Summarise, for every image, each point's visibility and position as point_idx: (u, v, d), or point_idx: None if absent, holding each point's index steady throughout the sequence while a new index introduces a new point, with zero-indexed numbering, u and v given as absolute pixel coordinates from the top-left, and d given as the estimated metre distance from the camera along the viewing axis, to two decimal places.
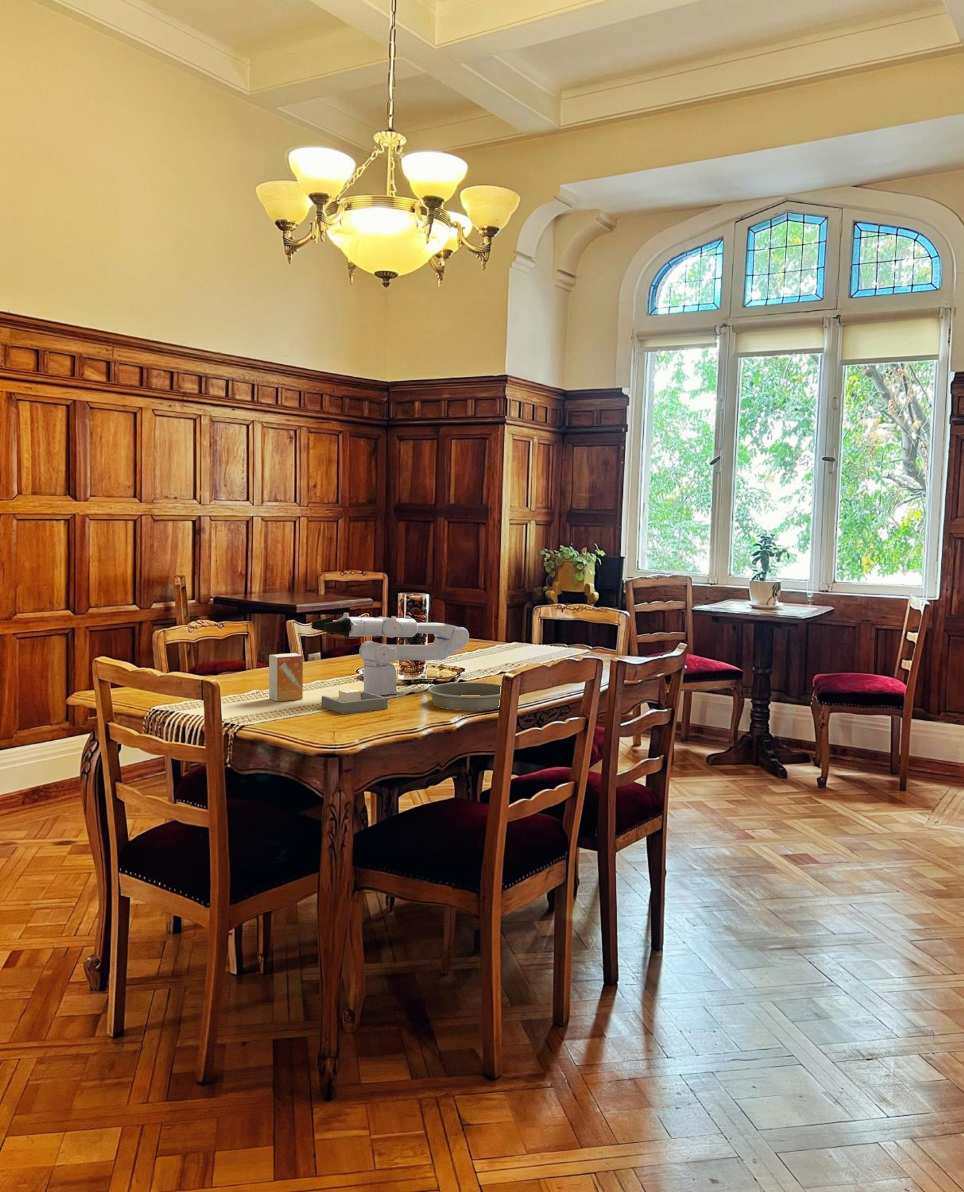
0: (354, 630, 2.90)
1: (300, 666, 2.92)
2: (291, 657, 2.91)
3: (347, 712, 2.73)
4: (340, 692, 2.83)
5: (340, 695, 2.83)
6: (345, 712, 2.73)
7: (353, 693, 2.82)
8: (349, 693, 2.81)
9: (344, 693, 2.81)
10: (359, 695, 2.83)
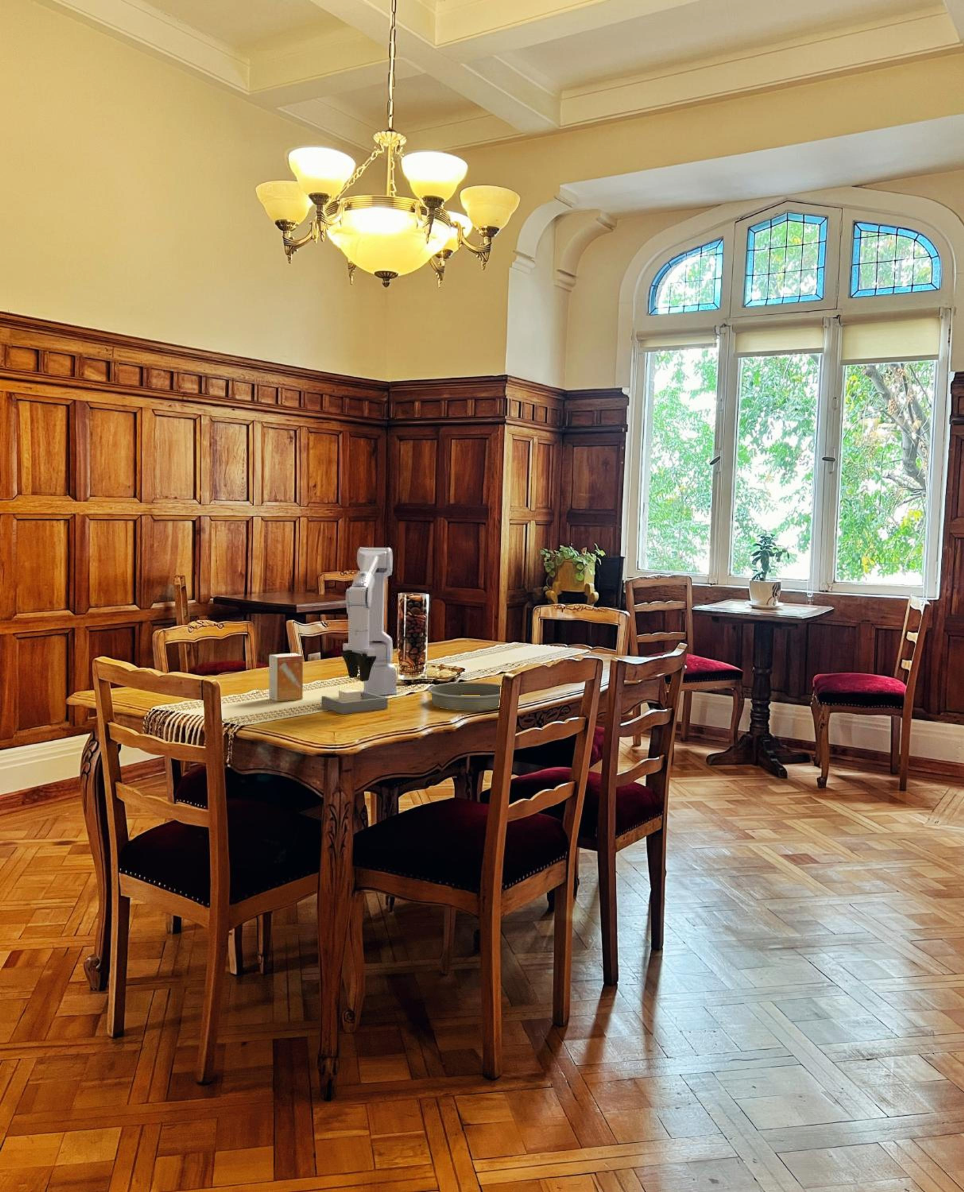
0: (373, 653, 2.73)
1: (300, 666, 2.92)
2: (291, 657, 2.91)
3: (347, 712, 2.73)
4: (340, 692, 2.83)
5: (340, 695, 2.83)
6: (345, 712, 2.73)
7: (353, 693, 2.82)
8: (349, 693, 2.81)
9: (344, 693, 2.81)
10: (359, 695, 2.83)
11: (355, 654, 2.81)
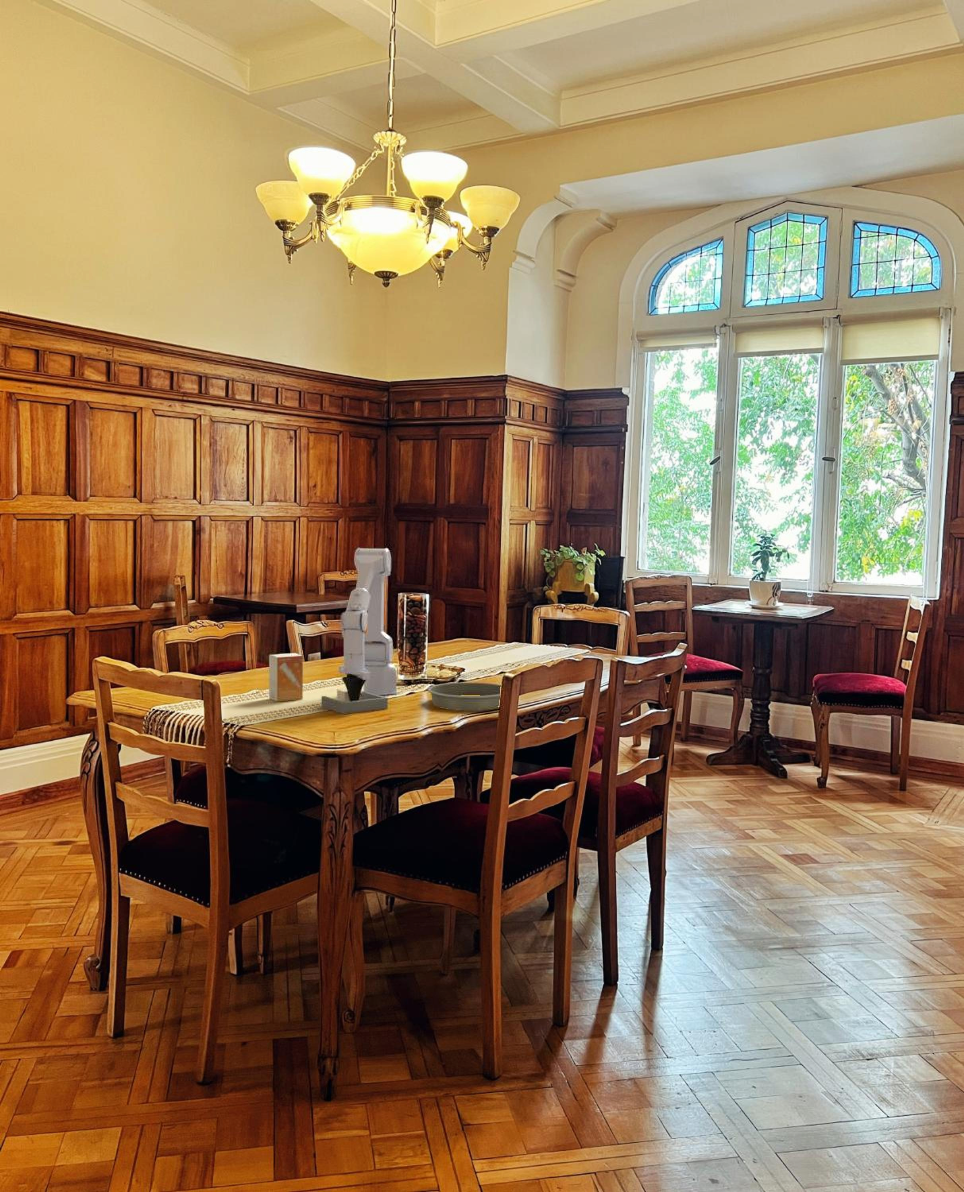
0: (369, 677, 2.75)
1: (300, 666, 2.92)
2: (291, 657, 2.91)
3: (347, 712, 2.73)
4: (338, 691, 2.84)
5: (338, 694, 2.84)
6: (345, 712, 2.73)
7: None
8: (347, 692, 2.82)
9: (342, 692, 2.82)
10: None
11: None
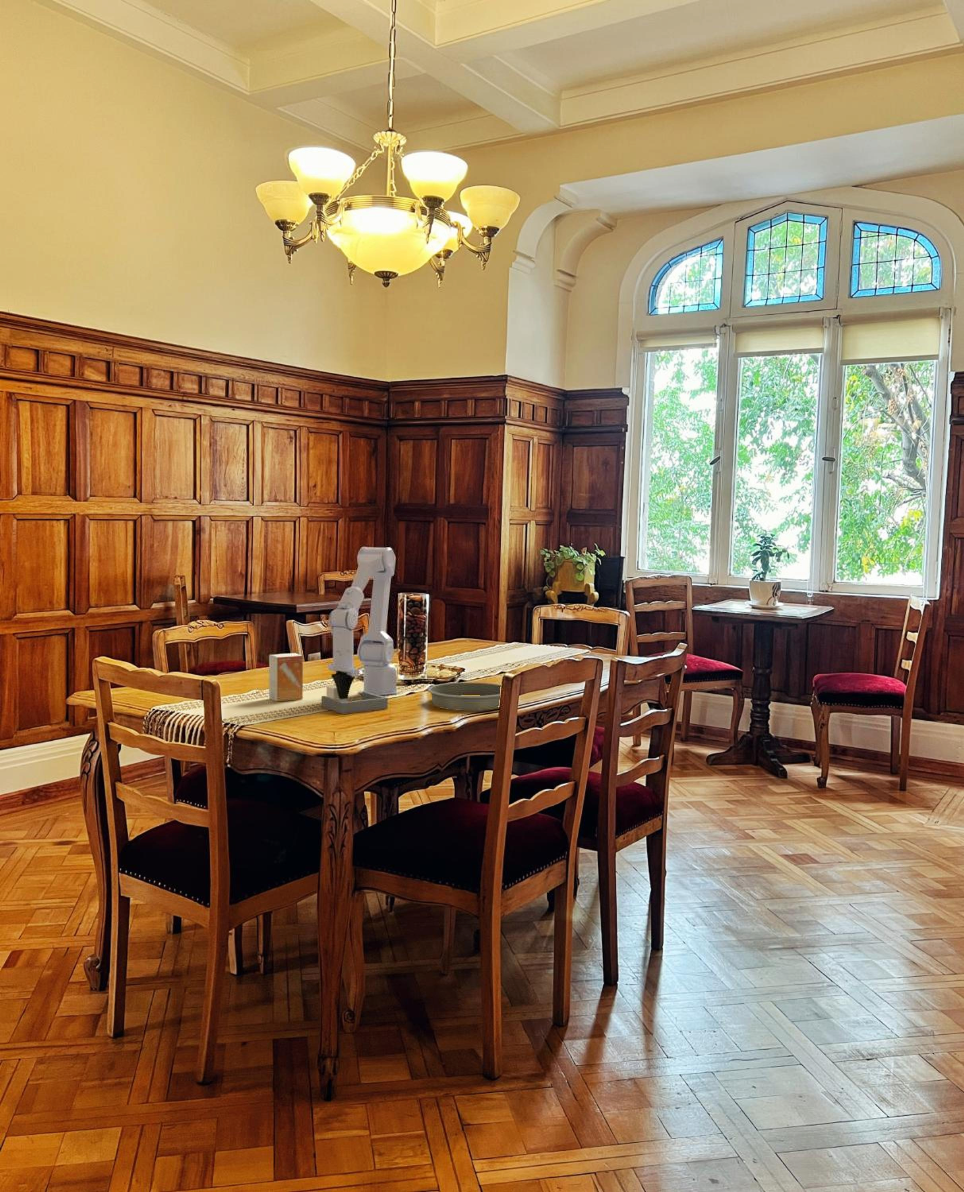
0: (357, 674, 2.81)
1: (300, 666, 2.92)
2: (291, 657, 2.91)
3: (347, 712, 2.73)
4: (328, 688, 2.89)
5: (328, 691, 2.89)
6: (345, 712, 2.73)
7: None
8: (336, 689, 2.87)
9: (331, 689, 2.87)
10: None
11: None
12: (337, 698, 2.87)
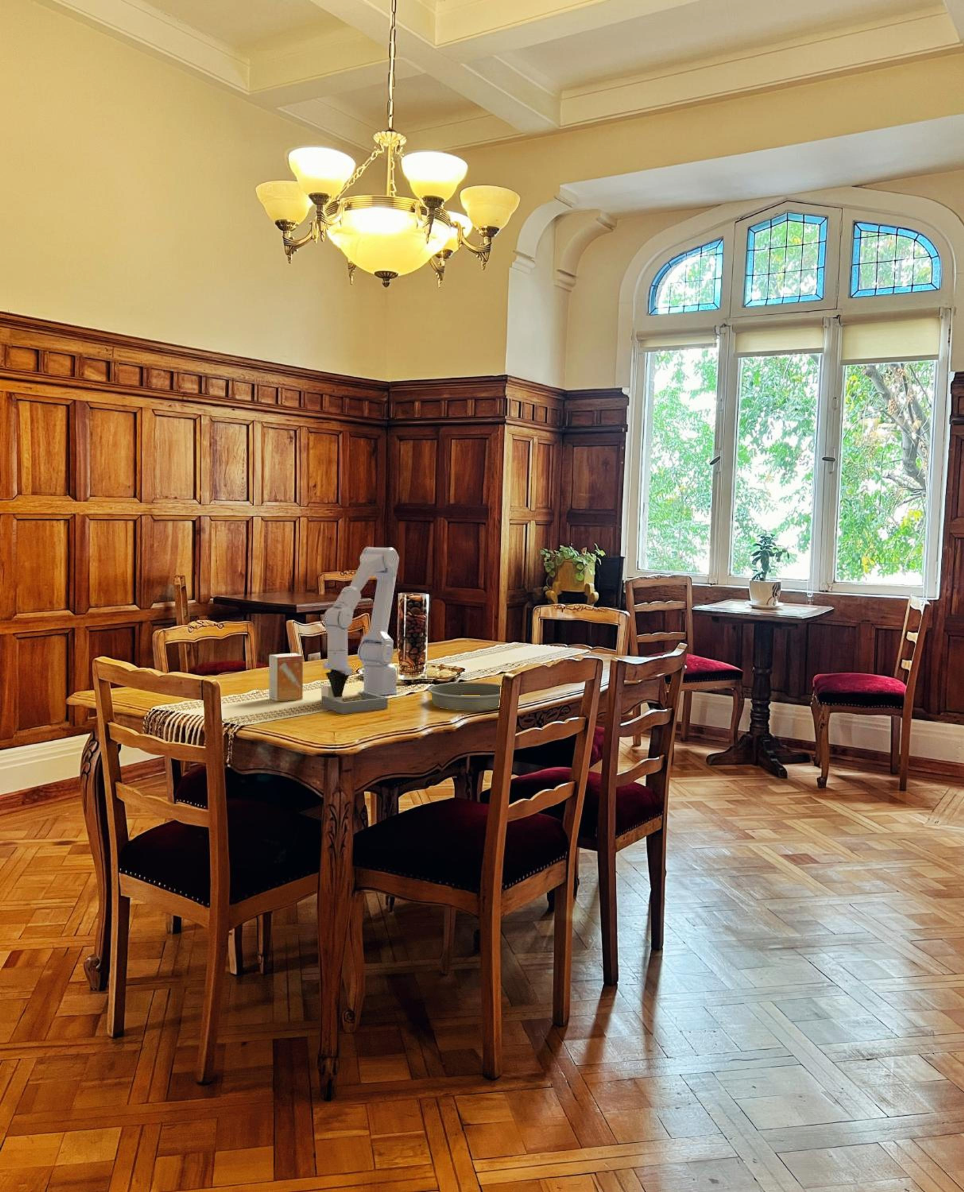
0: (351, 672, 2.83)
1: (300, 666, 2.92)
2: (291, 657, 2.91)
3: (347, 712, 2.73)
4: (322, 686, 2.92)
5: (322, 689, 2.92)
6: (345, 712, 2.73)
7: None
8: None
9: (326, 687, 2.90)
10: None
11: None
12: (332, 696, 2.90)
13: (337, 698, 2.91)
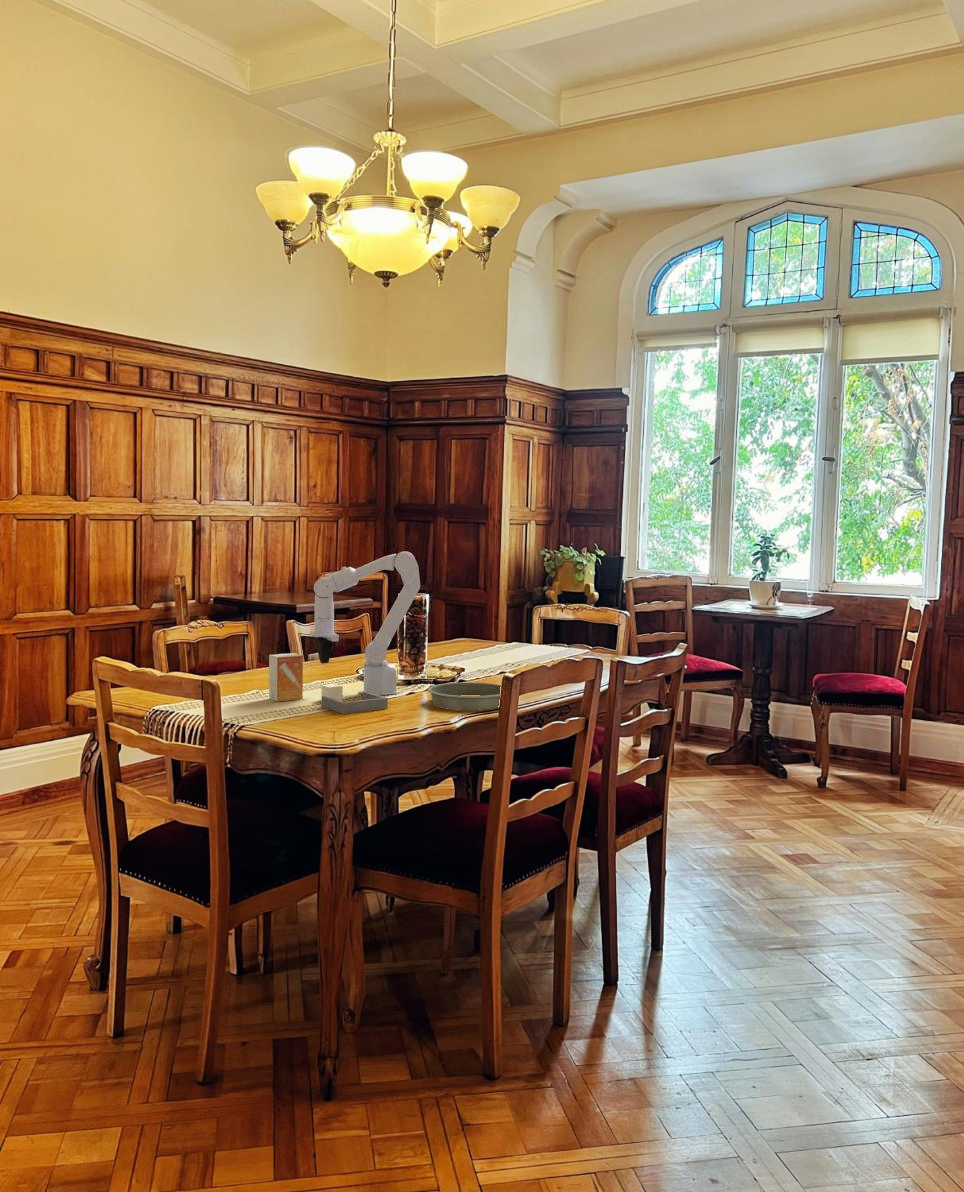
0: (337, 639, 2.96)
1: (300, 666, 2.92)
2: (291, 657, 2.91)
3: (347, 712, 2.73)
4: (323, 687, 2.92)
5: (323, 690, 2.92)
6: (345, 712, 2.73)
7: (335, 688, 2.90)
8: (331, 688, 2.89)
9: (326, 688, 2.90)
10: (341, 690, 2.91)
11: None
12: (332, 697, 2.90)
13: (337, 699, 2.91)
